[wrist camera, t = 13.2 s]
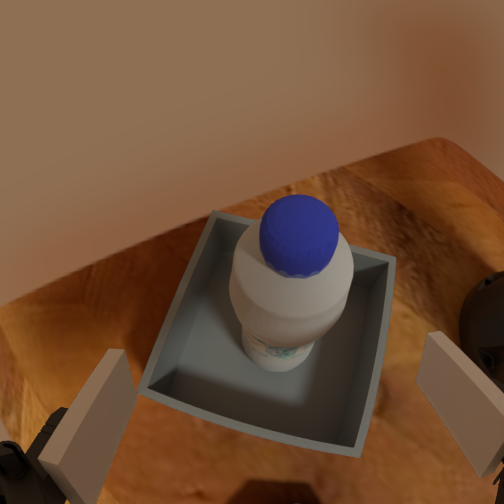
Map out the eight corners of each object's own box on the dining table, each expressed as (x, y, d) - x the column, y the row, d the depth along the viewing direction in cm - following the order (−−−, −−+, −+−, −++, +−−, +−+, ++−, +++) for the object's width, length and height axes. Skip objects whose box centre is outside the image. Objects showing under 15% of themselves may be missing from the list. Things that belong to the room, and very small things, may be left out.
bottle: (233, 319, 31) (203, 174, 14) (298, 302, 32) (343, 148, 14) (251, 385, 28) (240, 320, 10) (320, 365, 29) (412, 269, 11)
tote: (373, 288, 33) (396, 257, 27) (337, 450, 25) (359, 457, 19) (219, 247, 36) (212, 210, 30) (161, 399, 28) (135, 392, 22)
